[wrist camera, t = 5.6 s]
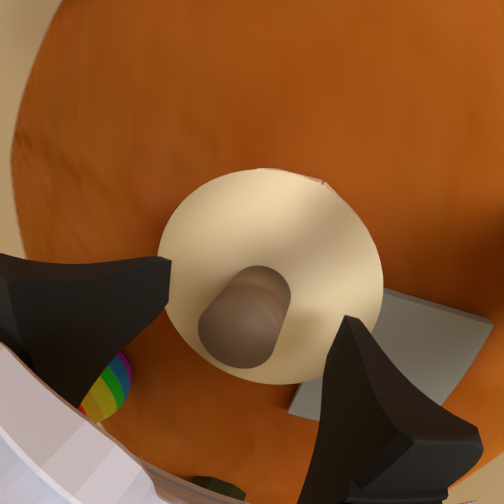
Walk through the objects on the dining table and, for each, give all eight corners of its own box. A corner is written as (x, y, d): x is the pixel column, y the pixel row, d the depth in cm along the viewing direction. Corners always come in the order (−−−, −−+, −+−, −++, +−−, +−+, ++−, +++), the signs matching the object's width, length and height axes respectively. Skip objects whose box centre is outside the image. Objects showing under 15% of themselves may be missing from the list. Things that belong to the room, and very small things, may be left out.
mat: (488, 318, 14) (493, 325, 13) (412, 428, 18) (414, 436, 17) (343, 275, 16) (344, 281, 15) (289, 404, 20) (287, 413, 19)
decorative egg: (96, 310, 24) (20, 362, 14) (154, 372, 24) (92, 442, 14) (78, 345, 27) (20, 390, 18) (126, 396, 27) (76, 451, 18)
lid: (425, 262, 11) (462, 306, 7) (291, 401, 15) (276, 458, 11) (224, 125, 12) (174, 109, 8) (141, 300, 16) (93, 335, 12)
